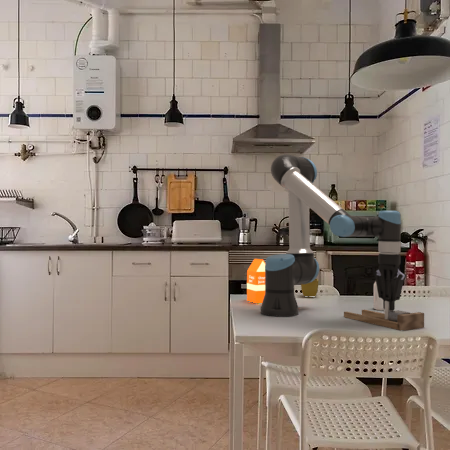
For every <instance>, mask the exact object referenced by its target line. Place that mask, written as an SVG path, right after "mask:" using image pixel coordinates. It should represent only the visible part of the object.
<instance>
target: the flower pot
mask: <svg viewBox="0 0 450 450" xmlns="http://www.w3.org/2000/svg"><path fill="white" fill-rule="evenodd" d="M319 281H320V280H319V279H318V278H316V279H315V280H314V281H312V282H310V283H307V284H300V289H301V293H302V295H303V297H304V296H315V297H316V296H317V294H318V289H319Z"/></svg>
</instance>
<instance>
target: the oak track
mask: <svg viewBox="0 0 450 450" xmlns="http://www.w3.org/2000/svg"><path fill="white" fill-rule="evenodd" d="M343 317H344V318H346V319H351V320H355V321H358V322H359V321H360V322H363V323H368V324H371V325H376V326H380V327H384V328H389V329H394V330H397V331H401V330H404V331H409V330H410V331H411V330H417V329H423V328H425V313H424V312H420V311H418V312H417V311H416V312H410V313H408V314H400V315H397V322H393V321H389V320H387V319H385V312H378V311H375V310H369V309H361V314H360V313H355V312H350V311H343Z"/></svg>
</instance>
